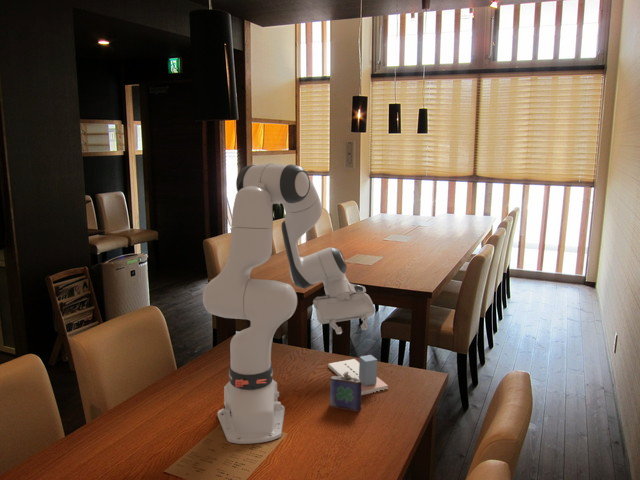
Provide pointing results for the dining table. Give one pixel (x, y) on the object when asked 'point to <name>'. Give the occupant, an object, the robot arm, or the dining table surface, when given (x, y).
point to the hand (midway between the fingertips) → (352, 331)
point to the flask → (345, 392)
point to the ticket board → (356, 375)
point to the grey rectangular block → (368, 370)
